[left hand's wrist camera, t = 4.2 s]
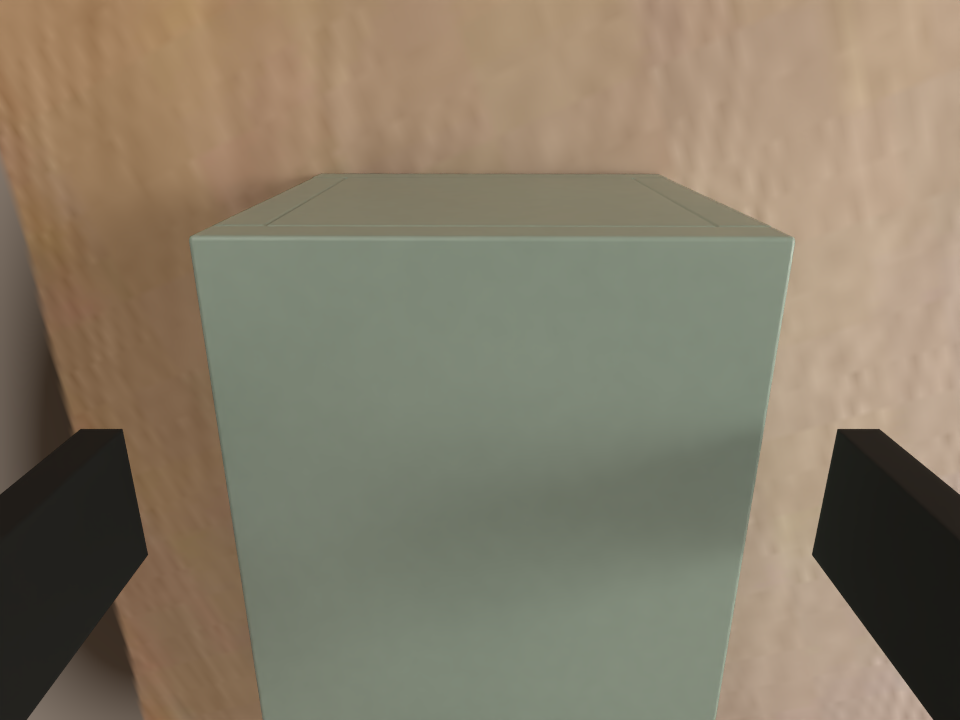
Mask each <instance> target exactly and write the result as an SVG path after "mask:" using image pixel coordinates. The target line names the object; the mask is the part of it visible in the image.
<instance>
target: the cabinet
mask: <svg viewBox="0 0 960 720" xmlns="http://www.w3.org/2000/svg"><path fill="white" fill-rule="evenodd" d="M189 243H190V249H191V256H192V262H193V269H194V275H195V282H196V288H197V295H198V301H199V308H200V314H201V321H202V327H203V334H204V340H205V347H206V353H207V360H208V366H209V373H210V379H211V386H212V392H213V399H214V405H215V412H216V418H217V425H218V431H219V438H220V444H221V451H222V457H223V464H224V470H225V477H226V483H227V490H228V496H229V503H230V509H231V516H232V522H233V529H234V535H235V542H236V548H237V555H238V561H239V568H240V574H241V581H242V587H243V594H244V600H245V607H246V613H247V620H248V626H249V633H250V639H251V646H252V652H253V659H254V665H255V672H256V679H257V685H258V692H259V698H260V705H261V711H262V718H263V720H715V719H716V713H717V707H718V701H719V695H720V689H721V683H722V677H723V671H724V665H725V659H726V653H727V647H728V641H729V635H730V629H731V623H732V617H733V611H734V605H735V599H736V593H737V587H738V581H739V575H740V569H741V563H742V557H743V551H744V545H745V539H746V533H747V527H748V521H749V515H750V509H751V503H752V497H753V491H754V485H755V479H756V473H757V467H758V461H759V455H760V449H761V443H762V437H763V431H764V425H765V419H766V413H767V407H768V401H769V395H770V389H771V383H772V377H773V371H774V365H775V359H776V353H777V347H778V341H779V335H780V329H781V323H782V317H783V311H784V305H785V299H786V293H787V287H788V281H789V275H790V269H791V263H792V257H793V251H794V245H795V239H794V237H792V236H789V235H787V234H785V233H783V232H781V231H779V230H777V229H774V228H772V227H771V226H769V225H767V224H765V223H762V222H760V221H758V220H756V219H754V218H752V217H749V216H747V215H745V214H743V213H741V212H739V211H736V210H734V209H732V208H730V207H728V206H726V205H723V204H721V203H719V202H717V201H715V200H713V199H710V198H708V197H706V196H704V195H702V194H700V193H697V192H695V191H693V190H691V189H689V188H687V187H684V186H682V185H680V184H678V183H676V182H674V181H671V180H669V179H667V178H666V177H664V176H661V175H659V174H319V175H317V176H315V177H313V178H312V179H310V180H308V181H306V182H304V183H302V184H300V185H297V186H295V187H293V188H291V189H289V190H287V191H285V192H283V193H281V194H279V195H276V196H274V197H272V198H270V199H268V200H266V201H264V202H262V203H260V204H257V205H255V206H253V207H251V208H249V209H247V210H245V211H243V212H241V213H238V214H236V215H234V216H232V217H230V218H228V219H226V220H224V221H222V222H219V223H217V224H215V225H213V226H211V227H209V228H207V229H205V230H203V231H201V232H199V233H196V234H194V235H192V236H190V239H189Z"/></svg>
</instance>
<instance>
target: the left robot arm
mask: <svg viewBox="0 0 960 720" xmlns="http://www.w3.org/2000/svg"><path fill="white" fill-rule="evenodd" d="M147 555H148V552H147V548H146V543H145V538H144V533H143V528H142V523H141V518H140V513H139V508H138V503H137V498H136V493H135V489H134V484H133V479H132V474H131V469H130V464H129V459H128V454H127V449H126V444H125V439H124V434H123V430H122V429H80V430H79V431H78V432H77V433H75V434H74V435H73V436H72V437H70V438H69V439H68V440H67V441H65V442H64V443H63V444H62V445H61V446H59V447H58V448H57V449H56V450H54V451H53V452H52V453H51V454H50V455H48V456H47V457H46V458H45V459H43V460H42V461H41V462H40V463H39V464H37V465H36V466H35V467H34V468H32V469H31V470H30V471H29V472H27V473H26V474H25V475H24V476H23V477H21V478H20V479H19V480H18V481H17V482H15V483H14V484H13V485H12V486H10V487H9V488H8V489H7V490H5V491H4V492H3V493H2V494H0V720H27V718H28V717H29V716H30V714H31V713H32V712H33V710H34V709H35V708H36V706H37V705H38V704H39V702H40V701H41V699H42V698H43V697H44V695H45V694H46V693H47V691H48V690H49V689H50V687H51V686H52V685H53V683H54V682H55V680H56V679H57V678H58V676H59V675H60V674H61V672H62V671H63V670H64V668H65V667H66V665H67V664H68V663H69V661H70V660H71V659H72V657H73V656H74V655H75V653H76V652H77V651H78V649H79V648H80V647H81V645H82V644H83V642H84V641H85V640H86V638H87V637H88V636H89V634H90V633H91V632H92V630H93V629H94V627H95V626H96V625H97V623H98V622H99V621H100V619H101V618H102V617H103V615H104V614H105V612H106V611H107V610H108V608H109V607H110V606H111V604H112V603H113V602H114V600H115V599H116V598H117V596H118V595H119V593H120V592H121V591H122V589H123V588H124V587H125V585H126V584H127V583H128V581H129V580H130V579H131V577H132V576H133V574H134V573H135V572H136V570H137V569H138V568H139V566H140V565H141V564H142V562H143V561H144V560H145V558H146V557H147ZM812 555H813V557H814V558H815V560H816V561H817V562H818V564H819V565H820V566H821V568H822V569H823V570H824V572H825V573H826V574H827V576H828V577H829V579H830V580H831V581H832V583H833V584H834V585H835V587H836V588H837V589H838V591H839V592H840V593H841V595H842V596H843V598H844V599H845V600H846V602H847V603H848V604H849V606H850V607H851V608H852V610H853V611H854V613H855V614H856V615H857V617H858V618H859V619H860V621H861V622H862V623H863V625H864V626H865V627H866V629H867V630H868V632H869V633H870V634H871V636H872V637H873V638H874V640H875V641H876V642H877V644H878V645H879V647H880V648H881V649H882V651H883V652H884V653H885V655H886V656H887V657H888V659H889V660H890V661H891V663H892V664H893V666H894V667H895V668H896V670H897V671H898V672H899V674H900V675H901V676H902V678H903V679H904V680H905V682H906V683H907V685H908V686H909V687H910V689H911V690H912V691H913V693H914V694H915V695H916V697H917V698H918V700H919V701H920V702H921V704H922V705H923V706H924V708H925V709H926V710H927V712H928V713H929V714H930V716H931V717H932V719H933V720H960V494H958V493H957V492H956V491H955V490H953V489H952V488H951V487H950V486H948V485H947V484H946V483H945V482H944V481H942V480H941V479H940V478H939V477H937V476H936V475H935V474H934V473H933V472H931V471H930V470H929V469H928V468H926V467H925V466H924V465H923V464H921V463H920V462H919V461H918V460H917V459H915V458H914V457H913V456H912V455H910V454H909V453H908V452H907V451H906V450H904V449H903V448H902V447H901V446H899V445H898V444H897V443H896V442H895V441H893V440H892V439H891V438H890V437H888V436H887V435H886V434H885V433H883V432H882V431H881V430H880V429H838V430H837V434H836V439H835V444H834V449H833V454H832V459H831V464H830V469H829V474H828V479H827V484H826V489H825V493H824V498H823V503H822V508H821V513H820V518H819V523H818V528H817V533H816V538H815V543H814V548H813V552H812Z"/></svg>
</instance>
